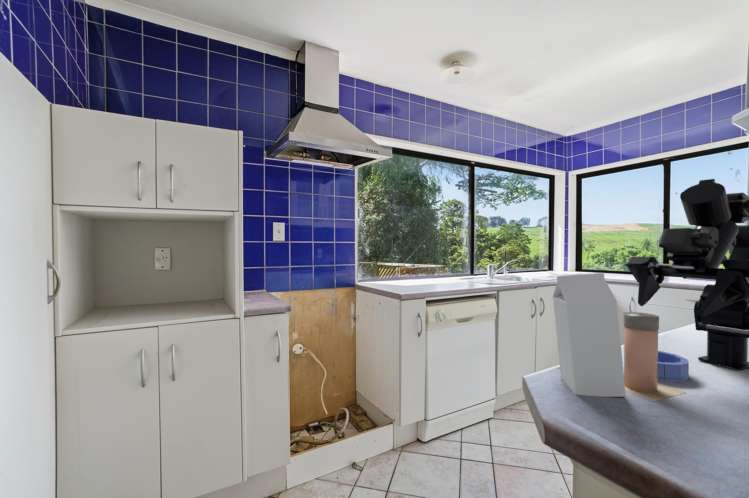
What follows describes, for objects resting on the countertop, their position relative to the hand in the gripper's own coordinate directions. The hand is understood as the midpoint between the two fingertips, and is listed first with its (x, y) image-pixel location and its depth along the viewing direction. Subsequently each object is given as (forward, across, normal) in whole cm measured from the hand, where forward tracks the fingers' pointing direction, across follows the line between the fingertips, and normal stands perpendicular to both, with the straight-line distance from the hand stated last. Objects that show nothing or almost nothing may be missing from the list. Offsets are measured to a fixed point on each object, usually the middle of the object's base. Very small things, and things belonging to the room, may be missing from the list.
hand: (668, 308), depth 59 cm
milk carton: (+20, -3, -1) cm, 20 cm away
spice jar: (+14, 0, +4) cm, 14 cm away
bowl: (+7, -4, +11) cm, 14 cm away
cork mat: (+14, 0, +4) cm, 15 cm away
